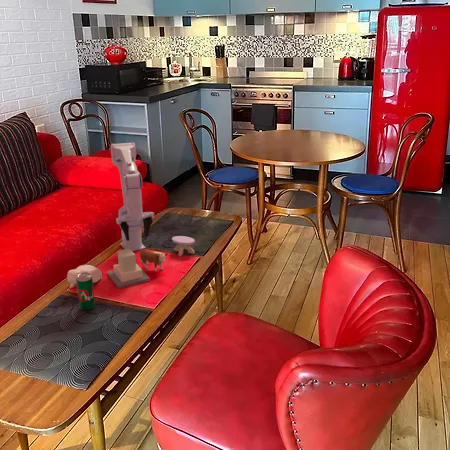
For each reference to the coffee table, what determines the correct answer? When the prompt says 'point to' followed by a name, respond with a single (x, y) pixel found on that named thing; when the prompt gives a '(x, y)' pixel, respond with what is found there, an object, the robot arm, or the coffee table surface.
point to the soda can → (85, 291)
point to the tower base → (118, 283)
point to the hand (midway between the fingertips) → (137, 237)
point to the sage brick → (126, 260)
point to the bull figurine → (152, 258)
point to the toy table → (183, 244)
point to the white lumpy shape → (84, 268)
